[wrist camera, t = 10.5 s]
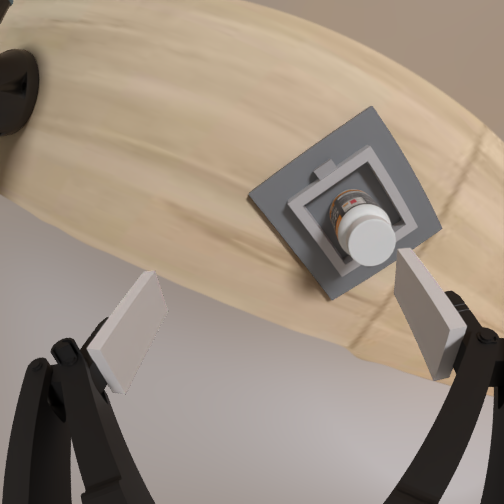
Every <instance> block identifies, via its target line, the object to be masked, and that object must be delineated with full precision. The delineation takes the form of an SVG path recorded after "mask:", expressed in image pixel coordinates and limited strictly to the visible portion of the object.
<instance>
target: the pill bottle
mask: <svg viewBox="0 0 504 504" xmlns="http://www.w3.org/2000/svg"><path fill="white" fill-rule="evenodd" d="M329 213H330V220H331V223H332V225H333V228H334V231H335V233H336V236H337V239H338V241H339V244H340V246H341V248H342V249H343V250H344V251H345V252H346V253H347V254H349V255H350V256H351V257H352V259H353V260H354V261H356V262H357V263H359V264H361V265H363V266H376V265H379V264H381V263H383V262H384V261H386V260H387V259H388V258H389V257H390V256H391V254H392V253H393V251H394V248H395V244H396V237H395V233H394V231H393V229H392V227H391V222H390V219H389V217H388V215H387V214H386V212H385V211H384V210H383V209H382V208H381V207H380V206H379V205H378V204H377V203H376V202H375V201H374V200H373V199H372V198H371V197H370V196H369V195H368V194H367V193H365V192H363V191H361V190H357V189H349V190H345V191H343V192H341V193H340V194H338V195H337V196H336V197H335V198H334V200H333V202H332V204H331V206H330V212H329Z"/></svg>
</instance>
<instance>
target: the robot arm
mask: <svg viewBox="0 0 504 504" xmlns="http://www.w3.org/2000/svg"><path fill="white" fill-rule="evenodd" d="M12 4H13V0H0V24H1V22H2V20H3V18H4V16H5V14H6V12H7V10H8V9H9V7H10V6H11V5H12ZM38 84H39V73H38V67H37V63H36V60H35V58H34V57H33V55H32V54H31V53H30V52H28V51H26V50H20V49H11V50H8V51H5V52H3V53H0V136H6V135H10V134H14V133H16V132H17V131H19V130H20V129H21V128H22V127H23V126H24V124H25V123H26V122H27V120H28V118H29V116H30V114H31V112H32V110H33V107H34V104H35V101H36V97H37V92H38ZM394 295H395V297H396V299H397V301H398V303H399V305H400V307H401V309H402V311H403V313H404V315H405V317H406V319H407V321H408V324H409V326H410V328H411V330H412V332H413V334H414V337H415V339H416V341H417V343H418V345H419V348H420V350H421V352H422V355H423V357H424V359H425V362H426V364H427V366H428V369H429V371H430V374H431V376H432V378H433V381H436V380H440V379H444V378H448V377H450V374H451V371H452V369H453V368H454V370H455V372H456V377H455V379H454V382H453V384H452V386H451V388H450V391H449V393H448V395H447V398H446V400H445V402H444V404H443V406H442V408H441V410H440V412H439V414H438V416H437V418H436V420H435V422H434V424H433V426H432V428H431V430H430V431H429V433H428V435H427V437H426V439H425V441H424V442H423V444H422V446H421V448H420V449H419V451H418V453H417V454H416V456H415V458H414V460H413V461H412V463H411V464H410V466H409V467H408V469H407V470H406V472H405V474H404V475H403V476H402V478H401V480H400V481H399V483H398V484H397V485H396V487H395V488H394V490H393V491H392V492H391V494H390V495H389V497H388V498H387V499H386V501H385V502H384V503H383V504H438V503H439V501H440V499H441V497H442V495H443V494H444V492H445V490H446V488H447V486H448V484H449V482H450V480H451V478H452V477H453V475H454V473H455V471H456V469H457V467H458V465H459V462H460V460H461V458H462V456H463V454H464V452H465V449H466V447H467V445H468V442H469V440H470V438H471V435H472V433H473V430H474V428H475V425H476V422H477V420H478V417H479V414H480V411H481V408H482V405H483V402H484V399H485V396H486V393H487V390H488V387H494V408H493V426H492V437H491V446H490V455H489V462H488V468H487V474H486V480H485V485H484V490H483V495H482V499H481V503H480V504H504V338H499V336H498V335H497V333H496V332H494V331H493V330H491V329H489V328H484V327H482V326H481V325H480V323H479V322H478V321H477V319H476V318H475V316H474V315H473V313H472V312H471V311H470V310H469V308H468V307H467V305H466V304H465V302H464V301H463V300H462V298H461V297H460V296H459V295H457V294H456V293H454V292H453V291H446V292H444V291H443V290H442V289H441V287H440V286H439V284H438V283H437V282H436V280H435V279H434V278H433V276H432V275H431V274H430V272H429V271H428V270H427V268H426V267H425V266H424V264H423V263H422V262H421V260H420V259H419V258H418V257H417V255H416V254H415V253H414V252H413V250H412V249H411V248H402V249H397V262H396V275H395V286H394ZM167 313H168V308H167V305H166V302H165V299H164V296H163V293H162V290H161V287H160V284H159V281H158V278H157V275H156V271H146V272H143V273H142V274H141V276H140V277H139V278H138V280H137V281H136V282H135V284H134V285H133V286H132V287H131V289H130V290H129V291H128V293H127V294H126V295H125V297H124V298H123V299H122V300H121V302H120V303H119V304H118V306H117V307H116V309H115V310H114V311H113V312H112V314H111V315H110V317H107V318H105V319H104V320H103V321H102V322H100V323H99V324H98V326H97V327H96V328H95V331H93V333H92V334H91V336H90V337H89V338H88V339H87V341H86V342H85V344H84V345H83V346H82V348H81V349H79V348H78V346H77V344H76V342H75V340H74V339H72V338H65V339H62V340H60V341H58V342H57V343H56V344H54V345H53V347H52V349H51V354H52V355H53V357H54V358H55V360H56V362H57V363H58V364H56V365H50V364H49V363H48V361H47V360H46V358H38V359H35V360H34V361H32V362H31V363H30V364H29V365H28V368H27V370H26V373H25V377H24V380H23V384H22V388H21V391H20V395H19V399H18V403H17V407H16V411H15V416H14V421H13V425H12V430H11V436H10V442H9V448H8V453H7V460H6V468H5V476H4V486H3V499H2V504H72V501H71V475H70V474H71V471H70V457H71V456H70V455H71V439H72V442H73V447H74V451H75V455H76V459H77V462H78V466H79V469H80V473H81V476H82V480H83V483H84V486H85V490H86V491H85V493H82V494H81V500H82V504H155V502H154V500H153V499H152V497H151V495H150V493H149V491H148V489H147V488H146V485H145V483H144V482H143V479H142V477H141V475H140V473H139V471H138V469H137V467H136V465H135V463H134V461H133V458H132V456H131V454H130V452H129V449H128V447H127V445H126V442H125V440H124V438H123V435H122V433H121V430H120V428H119V425H118V423H117V420H116V417H115V415H114V412H113V409H112V407H111V404H110V401H109V398H108V395H107V394H106V392H105V390H104V389H105V387H106V385H107V384H108V386H109V387H110V389H111V391H112V392H113V393H120V394H126V393H127V391H128V389H129V387H130V385H131V383H132V381H133V379H134V377H135V375H136V373H137V371H138V369H139V367H140V365H141V363H142V361H143V359H144V357H145V355H146V353H147V351H148V349H149V347H150V345H151V343H152V342H153V340H154V338H155V336H156V334H157V332H158V330H159V328H160V326H161V324H162V322H163V320H164V318H165V317H166V315H167Z"/></svg>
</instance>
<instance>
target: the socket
mask: <svg viewBox="0 0 504 504" xmlns="http://www.w3.org/2000/svg"><path fill="white" fill-rule="evenodd" d="M349 189H357V190H361V191H363V192H365V193H367V194H368V195H369V196H370V197H371V198H372V199H373V200H374V201H375V202H376V203H377V204H378V205H379V206H380V207H381V208H382V209H383V210H384V211H385V212H386V214H387V215H388V217H389V219H390V222H391V227H392V229H393V231H394V233H395V237H396V244H395V248H394V251H393V253H392V254H391V256H390V257H389V258H388V259H387V260H386V261H384V262H383V263H381V264H379V265H376V266H363V265H361V264H359V263H357V262H356V261H354V260H353V259H352V257H351V256H350V255H349V254H347V253H346V252H345V251H344V250H343V249H342V248H341V246H340V244H339V241H338V239H337V236H336V233H335V231H334V228H333V225H332V223H331V220H330V213H329V212H330V206H331V204H332V202H333V200H334V198H335V197H336V196H337V195H338V194H340V193H341V192H343V191H345V190H349ZM248 195H249V196H250V197H251V198H252V199H253V201H254V202H255V203H256V204H257V206H258V207H259V208H260V209H261V211H262V212H263V213H264V214H265V216H266V217H267V218H268V219H269V221H270V222H271V223H272V224H273V226H274V227H275V228H276V229H277V231H278V232H279V233H280V234H281V236H282V237H283V238H284V239H285V241H286V242H287V243H288V244H289V246H290V247H291V248H292V249H293V251H294V252H295V253H296V255H297V256H298V257H299V258H300V260H301V261H302V262H303V264H304V265H305V266H306V267H307V269H308V270H309V271H310V273H311V274H312V275H313V276H314V278H315V279H316V280H317V282H318V283H319V284H320V285H321V287H322V288H323V289H324V291H325V292H326V293H327V295H328V296H329V297H330V299H331V300H334V299H335V298H337V297H339V296H340V295H342V294H344V293H345V292H347V291H349V290H350V289H352V288H354V287H355V286H357V285H358V284H360V283H362V282H363V281H365V280H366V279H368V278H370V277H371V276H373V275H374V274H376V273H378V272H379V271H381V270H382V269H384V268H385V267H387V266H388V265H390V264H391V263H393V262H395V261H396V260H397V249H402V248H411V249H414V248H415V247H417V246H418V245H420V244H421V243H423V242H424V241H426V240H427V239H428V238H430V237H431V236H433V235H434V234H436V233H437V232H438V231H440V230H441V229H442V226H441V224H440V222H439V220H438V218H437V216H436V214H435V212H434V210H433V207H432V205H431V203H430V201H429V199H428V198H427V196H426V194H425V192H424V190H423V188H422V186H421V184H420V182H419V180H418V179H417V177H416V175H415V173H414V171H413V170H412V168H411V166H410V164H409V163H408V161H407V159H406V157H405V156H404V154H403V152H402V151H401V149H400V147H399V146H398V144H397V143H396V141H395V139H394V138H393V136H392V135H391V133H390V131H389V130H388V128H387V127H386V125H385V124H384V122H383V121H382V119H381V118H380V116H379V115H378V113H377V112H376V110H375V109H374V108H373V106H370V107H368V108H367V109H365V110H364V111H362V112H361V113H359V114H358V115H356V116H355V117H354V118H352V119H351V120H349V121H348V122H346V123H345V124H343V125H342V126H340V127H339V128H337V129H336V130H335V131H333V132H332V133H330V134H329V135H327V136H326V137H325V138H323V139H322V140H320V141H319V142H318V143H316V144H315V145H313V146H312V147H310V148H309V149H308V150H306V151H305V152H303V153H302V154H301V155H299V156H298V157H297V158H295V159H294V160H292V161H291V162H290V163H288V164H287V165H286V166H284V167H283V168H281V169H280V170H279V171H277V172H276V173H275V174H273V175H272V176H271V177H269V178H268V179H267V180H265V181H264V182H263V183H261V184H260V185H259V186H257V187H256V188H255V189H253V190H252V191H251V192H249V194H248Z"/></svg>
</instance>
